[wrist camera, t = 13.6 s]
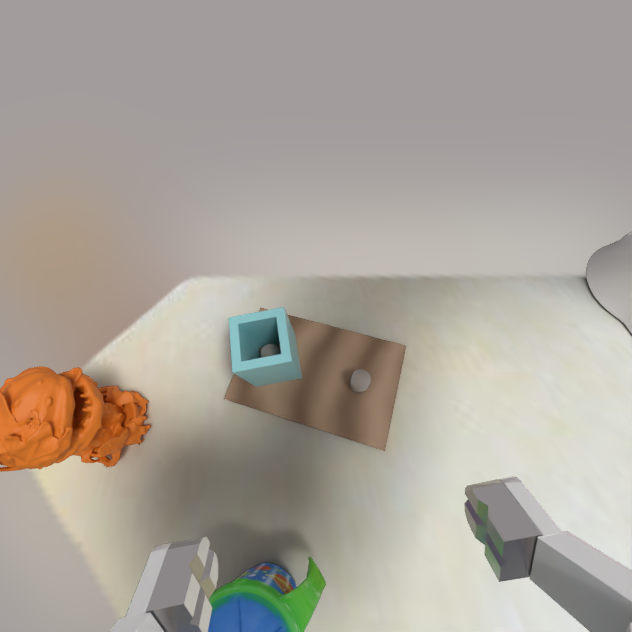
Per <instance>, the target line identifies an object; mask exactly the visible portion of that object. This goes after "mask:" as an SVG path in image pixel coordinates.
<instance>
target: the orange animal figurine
mask: <svg viewBox="0 0 632 632" xmlns="http://www.w3.org/2000/svg"><path fill="white" fill-rule="evenodd" d="M136 404H138V405H139V406H140V407H141V409H140V407H139V406H137V405H136ZM146 404H148V400H145V399H144V398H142V397H141V396H140V395H139V394H138V393H136V392H134V391H131V392H128V391H123V392H121V391H120V390H119V387H118V386H109V387H108V386H107V387H101V388H97V383H96V382H94V381H93V380H92V379H91V378H90V377H89V376H87V375H84V374H83V373H82V369H81V368H73V369H72V370H70V371H68V372H63V373H61V374H56V373H55V372H54V371H53V370H51V369H50V368H47V367H34V368H29V369H27V370H25V371H23V372H22V373H21V374H19V375H18V376H16V377H14V378H9V379H7V380H6V381H5V384H4V385H3V386H2V387H1V388H0V464H1V465H5V466H7V467H3V468H0V471H15V470H22V469H26V468H28V469H35V468H38V469H42V468H43V467H48V466H50V465H52V464H53V463H59V462H62V461H64V460H65V459H67V458H68V457H69V456H71V455H77V456H81V461H82V462H85V463H94V462H100V463H103V464H104V466H107V467H111V466H115V464H117V462H118V461H119V458H120V455H121V449H122V448H123V447H124V446H125V445H133V444H137V443H138V444H139V445H140V443H142V442H143V441H144V439H143V440H142V441H141V440H140V439H141V437H142V436H141V435H144V434H146V433H147V430H148V429H149V428H150V427H151V426H150V425H146V426H143V422H144V420H146V419H147V417H145V416H143V415H144V414H145V412H146ZM110 454H113V455H110ZM107 455H110V456H112V459H111V460H110V459H109V458H107V457H106V456H107ZM94 457H98V460H93V459H91V458H94ZM107 467H106V468H107Z"/></svg>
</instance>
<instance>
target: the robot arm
mask: <svg viewBox="0 0 632 632" xmlns="http://www.w3.org/2000/svg"><path fill="white" fill-rule="evenodd" d="M586 277H587V282H588V285H589V287H590V289H591V291H592V293H593V295H594V296H595V298H596V299H597V300H598V301H599V303H600V304H601V305H602V306H603V307H604V308H605V309H606V310H608V311H609V312H610V313H611V314H613V315H614V316H615V317H617V318H618V319H619V320H621V321H622V322H623V323H624V324H625V325H626V327H627V328H628V329H629V331H630V332H631V333H632V232H630V233H628V234H627V235H625V236H624V237H623V238H622V239H621V240H619V241H617V242H614V243H612V244H610V245H607V246H605V247H602V248H601V249H599V250H597V251H596V252H595V253H594V254H593V255H592V256H591V258H590V259H589V261H588V264H587V269H586ZM465 495H466V496H467V498H468V500H467V501H466V502H465V514H466V517H467V521H468V523H469V526H470V528H471V530H472V532H473V534H474V536H475V538H476V539H478V540H479V541H480V542H482V543H483V544H484V545H485V556H486V558H487V560H488V562H489V564H490V566H491V568H492V569H493V571H494V573H495V575H496V577H497V579H498V580H499V582H501V581H507V580H513V579H519V578H526V577H530V580H532V581H533V582H534V583H535V584H536V585H537V586H538V587H540V588H541V589H542V590H543V591H544V592H545V593H546V594H548V595H549V596H550V597H551V598H552V599H553V600H554V601H556V602H557V603H558V604H559V605H560V606H561V607H562V608H564V609H565V610H566V611H567V612H568V613H569V614H570V615H572V616H573V617H574V618H575V619H576V620H577V621H578V622H580V623H581V624H582V625H583V626H584V627H585V628H586V629H588V630H589V631H590V632H632V570H630V569H628V568H627V567H625V566H623V565H622V564H620V563H619V562H617V561H615V560H614V559H612V558H610V557H609V556H607V555H606V554H604V553H602V552H601V551H599V550H597V549H596V548H594V547H593V546H591V545H589V544H588V543H586V542H584V541H583V540H581V539H580V538H578V537H576V536H575V535H573V534H571V533H570V532H568V531H564V532H562V531H561V530H560V529H559V527H558V526H557V525H556V524H555V522H554V521H553V520H552V519H551V517H550V516H549V515H548V514H547V513H546V511H545V510H544V509H543V508H542V506H541V505H540V504H539V503H538V501H537V500H536V499H535V498H534V496H533V495H532V494H531V493H530V492H529V490H528V489H527V488H526V487H525V485H524V484H523V483H522V482H521V480H519V479H518V478H517V477H508V478H504V479H499V480H497V479H496V480H492V481H487V482H482V483H478V484H473V485H469V486H467V487H466V488H465ZM209 546H210V542H209V540H208V538H207V537H201V538H196V539H190V540H185V541H180V542H173V543H168V544H163V545H158V546H155V548H154V549H153V550H152V552H151V553H150V556H149V558H148V561H147V563H146V566H145V568H144V571H143V573H142V576H141V578H140V581H139V584H138V586H137V589H136V591H135V594H134V596H133V599H132V601H131V604H130V606H129V609H128V611H127V614H126V616H125V617H122V618H120V619H119V620H118V621H117V622H116V624H115V625H114V626H113V627H112V628H111V630H110V631H109V632H208V627H209V622H210V617H211V612H212V606H211V603H210V600H209V598H210V597H211V595H212V594H213V592H214V591H215V589H216V586H217V580H218V559H217V556H216V554H215V552H214V551H212V550H210V549H209Z"/></svg>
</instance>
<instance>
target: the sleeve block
mask: <svg viewBox="0 0 632 632" xmlns="http://www.w3.org/2000/svg"><path fill="white" fill-rule="evenodd" d="M229 329H230V344H231V358H232V373H234V374H236V375H237V376H239V377H241V378H242V379H244V380H246V381H247V382H249V383H251V384H252V385H254V386H256V387H259V386H264V385H269V384H274V383H280V382H285V381H290V380H295V379H301V378H302V374H301V368H300V362H299V355H298V349H297V342H296V336H295V333H294V330H293V328H292V326H291V323H290V321H289V318H288V316H287V314H286V311H285V309H284V307H282V308H277V309H271V310H266V311H261V312H255V313H250V314H245V315H240V316H234V317H229ZM267 344H274V345H279V344H280V348H281V354H279V355H273V356H268V357H263V358H260V349H259V348H263V347H264V346H265V345H267Z"/></svg>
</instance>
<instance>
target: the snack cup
mask: <svg viewBox="0 0 632 632" xmlns="http://www.w3.org/2000/svg"><path fill="white" fill-rule="evenodd" d="M308 559H309V567H308V573H307V578H306V579H305V580H304V581H303V582H302V583H301V584H300V585H299V586H298V587H296V585H295V581H294V580H293V578H292V577H291V575H289V574H288V573H287V572H286V571H285V570H284V569H283V568H281V567H280V566H278V565H275V564H270V563H267V562H266V563H261V564H259V565H256V566H254V567H252V568H250V569H249V570H247V571H246V572H244V573H243V574H242V575H241V576H239V577H238V578H237V579H236V580H234V581H233V582H230V583H228V584H226V585H224V586H222V587H220V588H219V589H218V590H216V591H215V592H213V594H212V595H211V597H210V598H209V600H210V603H211V606H212V612H211V617H210V622H209V627H208V632H304V631H305V628H306V626H307V625H308V623H309V621H310V618H311V616H312V614H313V612H314V610H315V608H316V606H317V604H318V601H319V599H320V596H321V593H322V591H323V589H324V587H325V585H326V583H325V580H324V578H323V576H322V574H321V572H320V571H319V569H318V567H317V566H316V564H315V562H314V561H313V559H312V558H311V557H309V558H308Z"/></svg>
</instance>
